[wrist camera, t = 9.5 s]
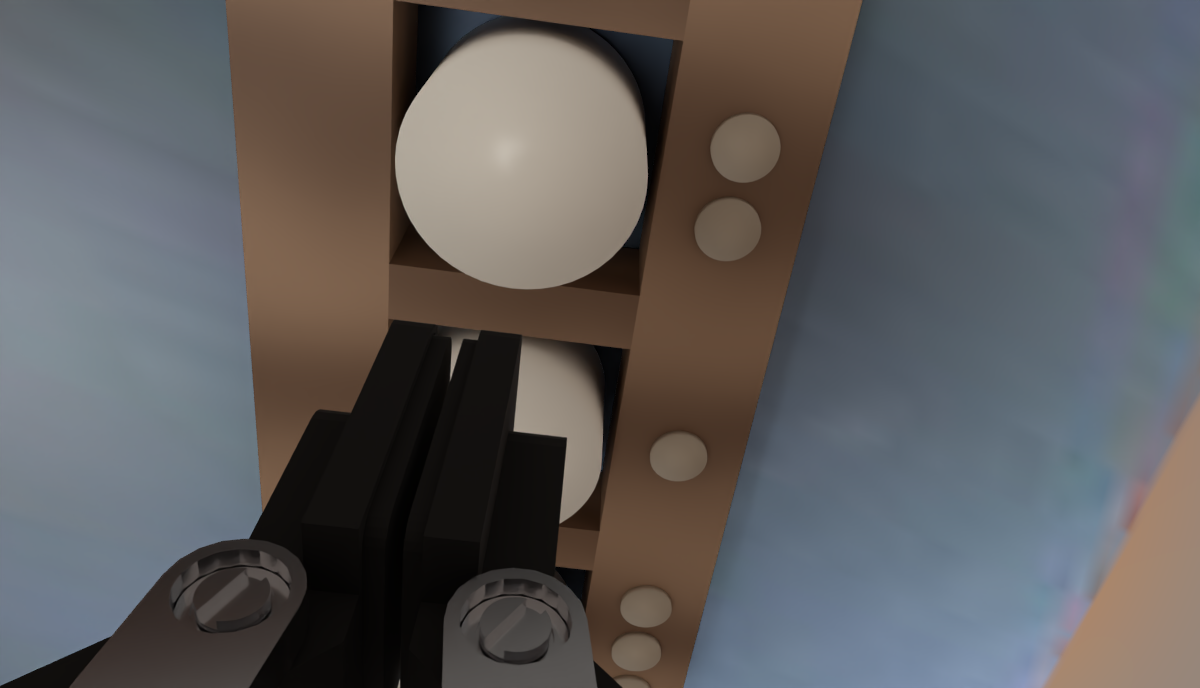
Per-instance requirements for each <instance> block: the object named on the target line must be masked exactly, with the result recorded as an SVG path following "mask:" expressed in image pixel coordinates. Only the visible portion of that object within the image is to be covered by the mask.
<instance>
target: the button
mask: <svg viewBox="0 0 1200 688" xmlns="http://www.w3.org/2000/svg"><path fill="white" fill-rule="evenodd" d="M437 330H438V336H447V337H451V339H452V353H451V373H450V380H451V377H452V373H453V370H454V367H455V364H456V360H457V357H458V354H459V351H460V347H461V344H462V341H463V339H472V340H478V337H479V334H480V331H481V330H473V329H465V328H457V327H449V326H442V325H438V326H437ZM604 398H605V377H604V371H603V366H602V363H601V360H600V358H599V355H598V353H597V351H596V349H595V348H594V346H593V345H592V344H584V343H576V342H568V341H560V340H552V339H544V338H536V337H529V336H522V346H521V357H520V368H519V379H518V390H517V400H516V411H515V422H514V431H515V432H524V433H533V434H541V435H550V436H559V437H567V447H566V458H565V468H564V479H563V490H562V500H561V511H560V522H559V524H560V523H562V522H563V521H565V520H566V519H568V518H569V517H571V516H572V515H573V514H575V513H576V512H577V511H578V510H579V509H580V508H581V507H582V506H583V505H584V504H585V502H586V501H587V500H588V499H589V497H590V496H591V494H592V492H593V491H594V489H595V487H596V484H597V482H598V479H599V475H600V471H601V463H602V444H603V421H604Z"/></svg>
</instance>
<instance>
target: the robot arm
mask: <svg viewBox="0 0 1200 688" xmlns="http://www.w3.org/2000/svg"><path fill="white" fill-rule="evenodd" d="M521 346H522V334H513V333H505V332H496V331H488V330H481V331H480V334H479V337H478V340H472V339H463V341H462V344H461V347H460V351H459V354H458V357H457V360H456V364H455V367H454V370H453V373H452V377H451V380H450V373H451V353H452V339H451V337H447V336H438V330H437V325H436V324H429V323H421V322H412V321H404V320H393V322H392V323H391V326H390V328H389V330H388V332H387V334H386V337H385V339H384V341H383V343H382V346H381V348H380V350H379V352H378V354H377V357H376V359H375V361H374V363H373V365H372V368H371V370H370V372H369V374H368V376H367V379H366V381H365V383H364V385H363V387H362V390H361V392H360V394H359V396H358V398H357V401H356V403H355V405H354V407H353V409H352V412H351V413H350V412H341V411H332V410H323V409H319V410H317V411H316V412H315V413H314V415H313V416H312V418H311V419H310V421H309V423H308V425H307V427H306V429H305V431H304V433H303V435H302V437H301V439H300V441H299V443H298V445H297V447H296V449H295V451H294V452H293V454H292V456H291V458H290V460H289V462H288V464H287V466H286V468H285V470H284V472H283V474H282V476H281V478H280V480H279V482H278V484H277V486H276V487H275V489H274V491H273V493H272V495H271V497H270V499H269V501H268V503H267V505H266V507H265V509H264V511H263V513H262V515H261V517H260V519H259V521H258V522H257V524H256V526H255V528H254V530H253V532H252V534H251V536H250V538H249V539H238V540H229V541H221V542H218V543H215V544H211V545H208V546H205V547H202V548H199V549H197V550H195V551H194V552H192V553H190V554H188V555H186V556H184V557H183V558H181V559H179V560H178V561H177V562H176V563H175V564H174V565H173V566H171V567H170V568H169V569H168V570H167V571H166V572H165V573H164V574H163V575H162V576H161V577H160V579H159V580H158V581H157V582H156V583H155V585H154V586H153V587H152V588H151V589H150V591H149V592H148V593H147V594H146V595H145V597H144V598H143V599H142V600H141V601H140V603H139V604H138V605H137V606H136V607H135V609H134V610H133V611H132V612H131V613H130V615H129V616H128V617H127V618H126V619H125V621H124V622H123V623H122V624H121V625H120V627H119V628H118V629H117V630H116V631H115V633H114V634H113V635H112V636H111V637H109V638H106V639H104V640H102V641H100V642H97V643H95V644H93V645H91V646H88V647H86V648H84V649H82V650H79V651H77V652H75V653H73V654H71V655H68V656H66V657H64V658H62V659H59V660H57V661H55V662H53V663H50V664H48V665H46V666H44V667H42V668H39V669H37V670H35V671H33V672H30V673H28V674H26V675H24V676H21V677H19V678H17V679H15V680H13V681H10V682H8V683H6V684H4V685H1V686H0V688H398V685H399V681H400V688H623V687H621V686H620V685H619V684H618V683H617V682H616V681H615V680H614V679H613V678H612V677H611V676H610V675H609V674H608V673H607V672H605V671H604V670H603V669H602V668H601V667H600V666H599V665H598V664H597V663H596V662H595V661H594V660H593V655H592V648H591V642H590V635H589V628H588V621H587V617H586V614H585V611H584V608H583V605H582V603H581V601H580V600H579V599H578V598H577V596H576V595H575V594H574V593H573V591H572V590H571V589H570V588H569V587H567V586H566V585H564V584H563V583H561V582H560V581H558V580H557V579H556V578H554V576H555V565H556V554H557V543H558V533H559V522H560V511H561V500H562V490H563V479H564V468H565V458H566V447H567V437H559V436H550V435H541V434H533V433H524V432H515V431H514V422H515V411H516V400H517V390H518V379H519V368H520V357H521Z"/></svg>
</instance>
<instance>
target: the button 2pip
mask: <svg viewBox="0 0 1200 688" xmlns="http://www.w3.org/2000/svg"><path fill="white" fill-rule="evenodd" d="M395 169H396V179H397V185H398V190H399V194H400V197H401V200H402V203H403V206H404V208H405V210H406V212H407V214H408V216H409V219H410V221H411V222H412V224H413V225H414V227H415V228H416V230H417V232H418V233H419V235H420V236H421V237H422V238H423V239H424V241H425V242H426V243H427V244H428V245H429V247H430V248H432V249H433V250H434V251H435V252H436V253H437V254H438V255H439V256H440V257H441V258H442V259H444V260H445V261H446V262H448V263H449V264H450V265H452V266H453V267H455V268H456V269H458V270H460V271H462V272H463V273H465V274H467V275H469V276H471V277H473V278H476V279H478V280H480V281H483V282H486V283H490V284H493V285H496V286H501V287H507V288H514V289H543V288H549V287H555V286H559V285H563V284H566V283H570V282H573V281H575V280H577V279H579V278H582V277H584V276H586V275H588V274H590V273H591V272H593V271H595V270H596V269H598V268H599V267H601V266H602V265H603V264H604V263H606V262H607V261H608V260H610V259H611V258H612V257H613V256H614V255H615V254H616V253H617V252H618V251H619V250H620V249H621V247H622V246H623V245H624V243H625V242H626V241H627V239H628V238H629V237H630V235H631V233H632V231H633V230H634V228H635V226H636V224H637V222H638V220H639V217H640V215H641V212H642V209H643V206H644V202H645V197H646V193H647V182H648V168H647V146H646V124H645V111H644V105H643V100H642V97H641V93H640V90H639V87H638V85H637V82H636V80H635V78H634V76H633V74H632V72H631V70H630V69H629V67H628V66H627V64H626V63H625V61H624V60H623V58H622V57H621V56H620V55H619V54H618V53H617V51H616V50H615V49H614V48H613V47H612V46H611V45H610V44H609V43H607V42H606V41H605V40H604V39H603V38H602V37H600V36H599V35H597V34H596V33H595V32H593V31H592V30H590V29H588V28H586V27H581V26H574V25H567V24H560V23H552V22H545V21H538V20H531V19H524V18H517V17H510V16H503V17H500V18H497V19H494V20H491V21H488V22H486V23H484V24H482V25H481V26H479V27H477V28H475V29H473V30H472V31H471V32H469V33H468V34H466V35H465V36H464V37H462V38H461V39H460V40H459V41H458V42H457V43H456V44H455V45H454V46H453V47H452V48H451V49H450V51H449V52H448V53H447V55H446V56H445V57H444V58H443V60H442V61H441V63H440V64H439V65H438V67H437V68H436V69H435V71H434V72H433V74H432V75H431V76H430V78H429V79H428V80H427V82H426V83H425V85H424V86H423V87H422V89H421V90H420V91H419V93H418V94H417V96H416V97H415V98H414V100H413V102H412V103H411V105H410V107H409V109H408V110H407V112H406V114H405V117H404V119H403V122H402V125H401V127H400V131H399V135H398V139H397V143H396V154H395Z"/></svg>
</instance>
